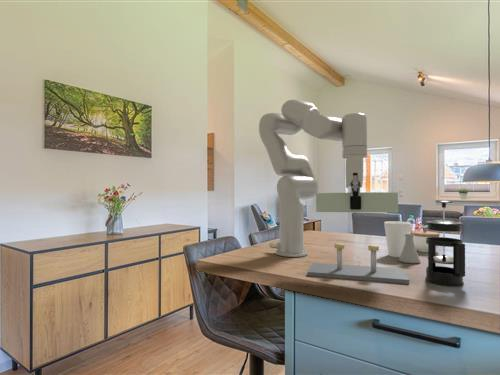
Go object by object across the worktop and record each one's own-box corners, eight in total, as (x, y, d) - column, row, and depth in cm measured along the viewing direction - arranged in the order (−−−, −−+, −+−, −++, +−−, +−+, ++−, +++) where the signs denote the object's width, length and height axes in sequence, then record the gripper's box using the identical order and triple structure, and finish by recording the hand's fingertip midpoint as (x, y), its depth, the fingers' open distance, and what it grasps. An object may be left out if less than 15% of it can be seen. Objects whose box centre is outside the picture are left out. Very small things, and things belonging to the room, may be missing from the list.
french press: (416, 277, 98) (416, 200, 98) (443, 275, 100) (443, 199, 100) (447, 289, 87) (447, 201, 87) (477, 287, 88) (477, 201, 88)
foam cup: (414, 255, 129) (414, 222, 129) (406, 259, 123) (406, 224, 123) (389, 252, 136) (389, 220, 136) (380, 255, 129) (380, 222, 129)
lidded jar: (445, 253, 133) (445, 230, 133) (418, 253, 134) (418, 230, 134) (430, 248, 144) (430, 227, 144) (406, 248, 144) (406, 227, 144)
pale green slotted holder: (316, 211, 105) (316, 193, 105) (318, 210, 112) (318, 192, 112) (398, 212, 98) (397, 192, 98) (395, 211, 105) (394, 192, 105)
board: (307, 275, 100) (307, 246, 100) (313, 266, 112) (313, 239, 112) (409, 284, 91) (409, 251, 91) (403, 272, 104) (403, 243, 104)
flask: (423, 264, 115) (423, 235, 115) (401, 263, 116) (401, 235, 116) (417, 260, 122) (417, 232, 122) (396, 259, 123) (396, 232, 123)
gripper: (343, 156, 115) (343, 207, 114) (341, 150, 98) (342, 210, 98) (365, 155, 112) (366, 207, 112) (368, 149, 96) (369, 210, 95)
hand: (355, 208), depth 105 cm, fingers closed on pale green slotted holder, 7 cm apart
